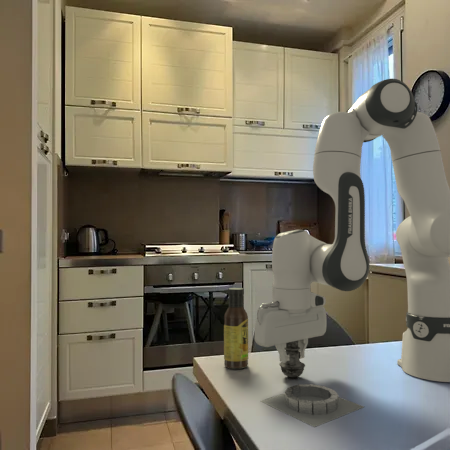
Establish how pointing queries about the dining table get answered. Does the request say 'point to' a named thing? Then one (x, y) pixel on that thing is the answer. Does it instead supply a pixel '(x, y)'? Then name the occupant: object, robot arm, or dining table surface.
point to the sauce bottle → (235, 331)
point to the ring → (311, 406)
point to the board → (312, 420)
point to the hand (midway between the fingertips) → (292, 360)
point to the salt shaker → (292, 361)
